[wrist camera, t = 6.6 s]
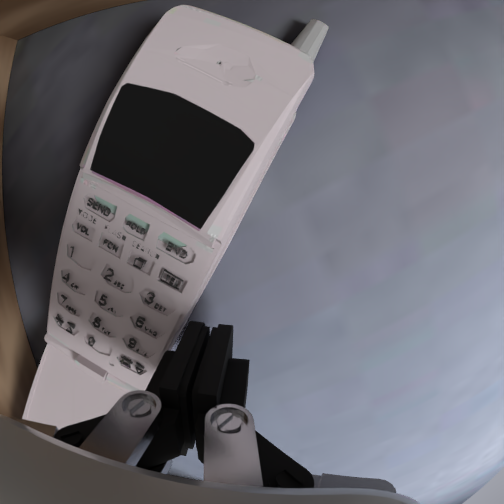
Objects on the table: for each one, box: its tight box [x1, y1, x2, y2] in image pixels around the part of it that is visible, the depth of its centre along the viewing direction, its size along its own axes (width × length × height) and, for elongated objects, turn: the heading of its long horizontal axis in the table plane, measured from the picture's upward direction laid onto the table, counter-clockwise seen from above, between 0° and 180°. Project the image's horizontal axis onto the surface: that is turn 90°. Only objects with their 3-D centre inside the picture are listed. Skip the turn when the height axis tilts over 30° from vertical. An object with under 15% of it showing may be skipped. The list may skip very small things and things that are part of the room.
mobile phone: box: [22, 5, 329, 430], centre depth 10 cm, size 6×6×25 cm
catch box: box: [0, 0, 145, 419], centre depth 11 cm, size 31×14×5 cm, turn 176°
